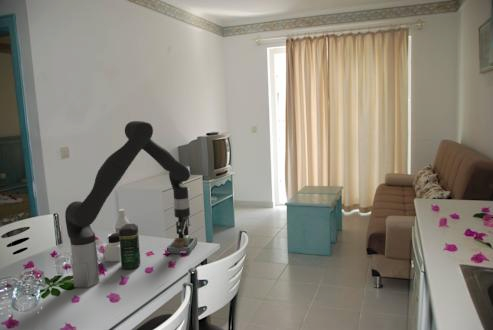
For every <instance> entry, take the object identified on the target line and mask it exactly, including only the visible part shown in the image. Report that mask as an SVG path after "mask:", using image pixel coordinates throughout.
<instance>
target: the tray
mask: <svg viewBox="0 0 493 330" xmlns="http://www.w3.org/2000/svg"><path fill="white" fill-rule="evenodd" d="M176 238H177V237H175V238H174V239H173V241H172V242H171V243H170V244H169V245H167V247H166V253H167V252H169V253H170V254H169V255H181V254H180V252H181V251H186V253H187V254H186V255H190V254H191V253H192V252H193V250H194V248H195V247H196V246H197V244H198V238H197V237H190V245H189V246H188V247H174V245H173V244H174V241H175V239H176Z"/></svg>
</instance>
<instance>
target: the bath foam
mask: <svg viewBox="0 0 493 330" xmlns="http://www.w3.org/2000/svg"><path fill="white" fill-rule="evenodd" d="M125 224H131V223H130V221H129V220H128V218H127V217H126V212H125V208H119V209H118V218H117V220H116V222H115V233H119V230H120V228H121V227H122V226H124V225H125Z"/></svg>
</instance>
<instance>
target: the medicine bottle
mask: <svg viewBox="0 0 493 330" xmlns="http://www.w3.org/2000/svg"><path fill="white" fill-rule="evenodd" d="M106 237H107V238H106V239H107V245H105V246H104V247H103V248H104V257H105V262H106V263H107V262H109V263H110V262H121V251H120V239H119V233H116V232H113V233H110V234H108V235H107V236H106Z"/></svg>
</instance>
